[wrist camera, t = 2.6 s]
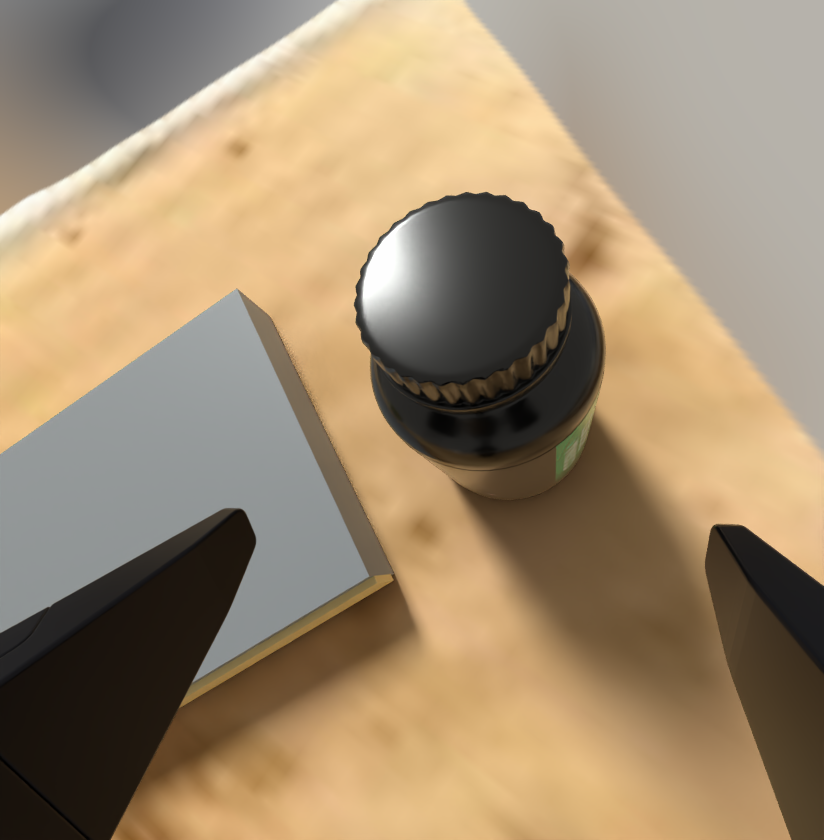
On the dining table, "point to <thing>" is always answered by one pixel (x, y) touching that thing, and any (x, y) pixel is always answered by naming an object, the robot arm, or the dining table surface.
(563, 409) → the supplement bottle
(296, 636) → the gray hardcover book
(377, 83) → the dining table surface
